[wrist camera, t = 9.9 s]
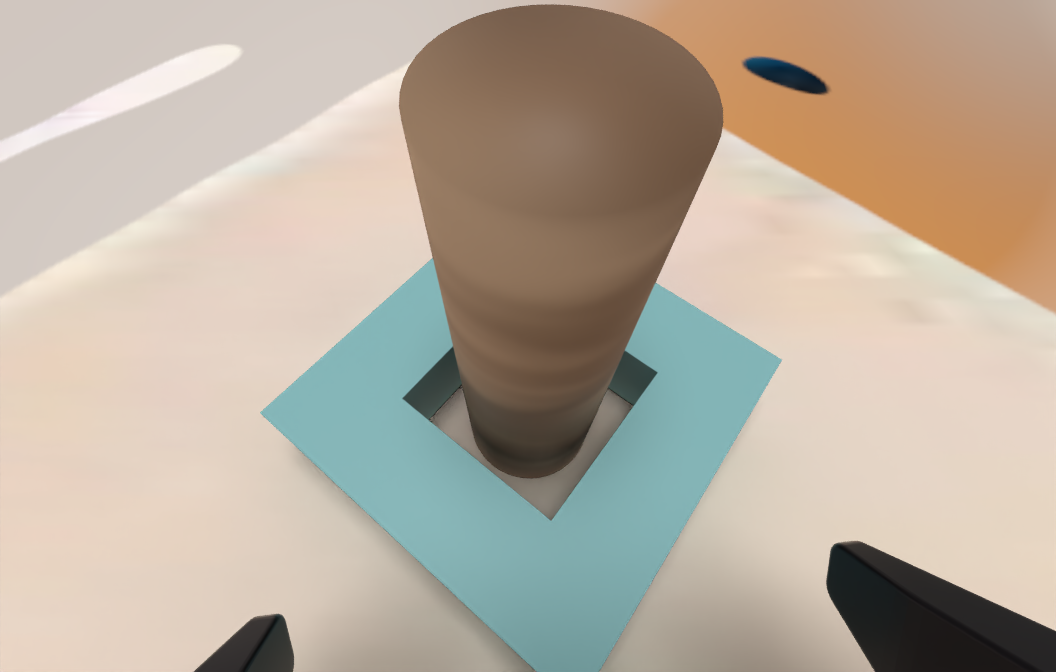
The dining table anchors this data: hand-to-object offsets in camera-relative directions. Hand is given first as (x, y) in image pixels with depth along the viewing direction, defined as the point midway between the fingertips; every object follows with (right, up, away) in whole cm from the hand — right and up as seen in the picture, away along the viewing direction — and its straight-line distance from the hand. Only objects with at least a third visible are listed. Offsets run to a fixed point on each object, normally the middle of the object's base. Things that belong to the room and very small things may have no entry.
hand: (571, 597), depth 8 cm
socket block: (-1, +1, +9) cm, 9 cm away
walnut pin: (-1, +1, +9) cm, 9 cm away
